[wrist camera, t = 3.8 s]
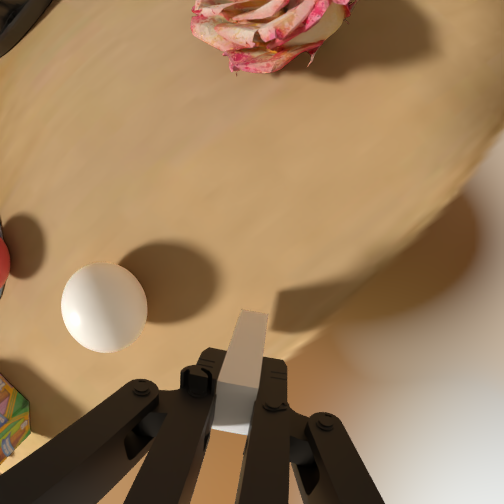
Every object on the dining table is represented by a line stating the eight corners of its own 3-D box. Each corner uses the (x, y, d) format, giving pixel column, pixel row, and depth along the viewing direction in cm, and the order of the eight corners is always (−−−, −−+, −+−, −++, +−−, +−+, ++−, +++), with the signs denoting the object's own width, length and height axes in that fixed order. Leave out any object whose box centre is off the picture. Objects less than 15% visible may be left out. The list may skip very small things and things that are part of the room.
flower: (355, -35, 11) (279, -109, 5) (423, 64, 11) (362, -36, 5) (248, 27, 17) (159, -11, 11) (278, 125, 17) (167, 97, 11)
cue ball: (92, 246, 18) (39, 266, 13) (163, 261, 18) (120, 290, 12) (94, 317, 19) (50, 351, 14) (159, 337, 19) (124, 382, 14)
